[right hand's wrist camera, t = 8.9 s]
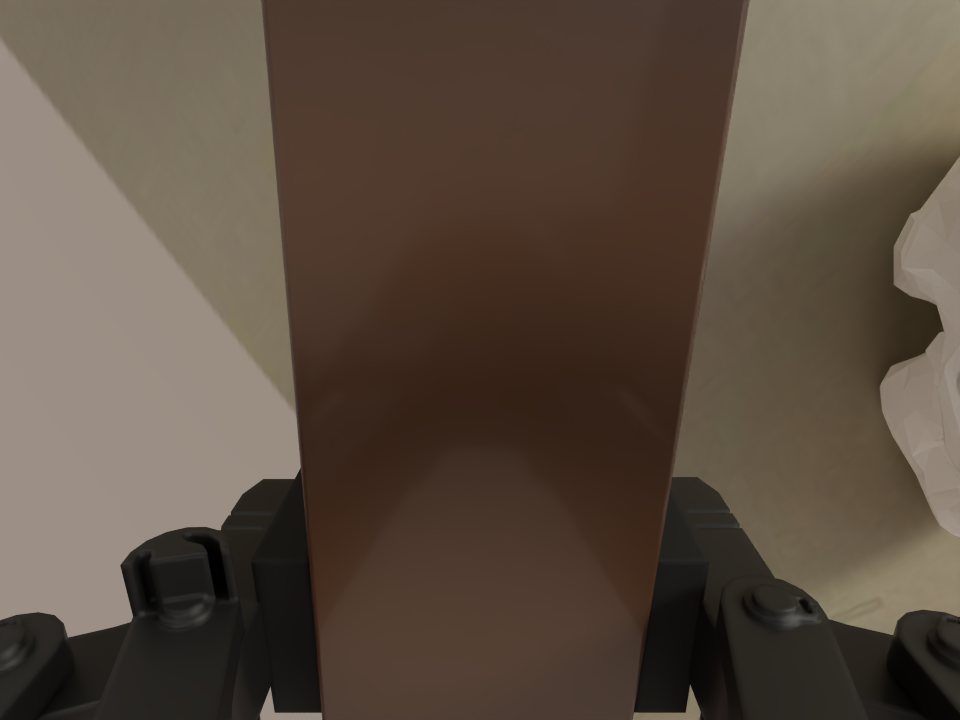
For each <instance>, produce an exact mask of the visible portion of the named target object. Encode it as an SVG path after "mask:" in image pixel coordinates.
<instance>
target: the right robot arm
mask: <svg viewBox="0 0 960 720" xmlns="http://www.w3.org/2000/svg"><path fill="white" fill-rule="evenodd" d="M121 570H122V574H123V578H124V582H125V586H126V589H127V594H128V597H129V601H130V606H131V609H132V614H133V619H132V621H131V622H130V623H127V624H123V625H120V626H117V627H113V628H109V629H104V630H100V631H95V632H91V633H87V634H82V635H78V636H74V637H69V638H68V636H67V633H66V630H65V626H64V624H63V622H61V621H60V620H59V619H58V618H57V617H56V616H55V615H50V614H44V613H39V612H37V613H29V614H21V615H15V616H12V617H9V618H6V619H3V620H0V720H260V712H261V710H262V707H263V704H264V702H265V699H266V696H267V694H268V691H269V689H270V686H271V691H272V698H273V704H274V710H275V713H322V711H321V699H320V687H319V675H318V663H317V651H316V640H315V628H314V616H313V604H312V592H311V581H310V569H309V557H308V545H307V533H306V521H305V510H304V498H303V486H302V474H301V469H300V470H299V472H298V474H297V476H296V478H295V479H263V480H262V481H260V482H259V483H258V484H256V485H255V486H253V487H252V488H251V489H249V490H248V491H247V492H245V493H244V494H243V495H242V496H241V498H240V499H239V501H238V502H237V504H236V505H235V507H234V508H233V510H232V511H231V515H229V516H228V517H227V519H226V520H225V522H224V523H223V525H222V527H221V530H215V529H211V528H207V527H187V528H183V529H178V530H174V531H170V532H166V533H164V534H161V535H159V536H157V537H154V538H152V539H150V540H148V541H146V542H144V543H143V544H142V545H140V546H139V547H137V548H136V549H135V550H133V551H132V552H130V554H129V555H128V556H127V558H126V559H125V560H124V561H123V563H122V564H121ZM690 685H691V687H692V690H693V692H694V695H695V698H696V700H697V703H698V706H699V708H700V711H701V714H700V720H960V617H957V616H954V615H951V614H948V613H945V612H937V611H929V610H919V611H914V612H908V613H906V614H905V615H904V616H903V617H901V618H900V619H899V620H898V622H897V625H896V628H895V631H894V635H889V634H885V633H881V632H876V631H872V630H868V629H863V628H859V627H854V626H850V625H846V624H843V623H839V622H836V621H833V620H829V619H828V618H827V615H826V614H825V613H824V611H823V610H822V608H821V607H820V605H819V604H818V602H817V601H816V600H814V599H813V598H812V597H811V596H809V595H808V594H807V593H806V592H804V591H803V590H802V589H800V588H798V587H796V586H794V585H792V584H790V583H788V582H786V581H784V580H780V579H777V578H775V577H774V576H773V574H772V573H771V571H770V570H769V568H768V567H767V565H766V564H765V562H764V561H763V559H762V558H761V556H760V555H759V553H758V552H757V550H756V549H755V547H754V546H753V544H752V543H751V541H750V540H749V538H748V537H747V535H746V534H745V532H744V531H743V529H742V528H740V527H739V523H738V522H737V520H736V519H735V517H734V516H733V514H732V513H730V509H729V508H728V506H727V505H726V503H725V502H724V500H723V499H722V497H721V496H720V494H719V493H718V492H717V491H716V490H714V489H713V488H711V487H710V486H709V485H707V484H706V483H704V482H703V481H702V480H700V479H699V478H698V477H672V481H671V487H670V493H669V499H668V505H667V511H666V517H665V524H664V530H663V536H662V542H661V548H660V554H659V561H658V567H657V573H656V579H655V585H654V591H653V597H652V604H651V610H650V616H649V622H648V628H647V634H646V641H645V647H644V653H643V659H642V665H641V671H640V677H639V684H638V690H637V696H636V702H635V708H634V712H638V713H686V706H687V700H688V694H689V688H690Z"/></svg>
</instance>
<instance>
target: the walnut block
mask: <svg viewBox="0 0 960 720" xmlns="http://www.w3.org/2000/svg"><path fill="white" fill-rule="evenodd" d="M261 1H262V13H263V25H264V37H265V49H266V60H267V72H268V84H269V96H270V108H271V120H272V131H273V143H274V155H275V167H276V179H277V191H278V202H279V214H280V226H281V238H282V250H283V261H284V273H285V285H286V297H287V309H288V321H289V332H290V344H291V356H292V368H293V380H294V391H295V403H296V415H297V427H298V439H299V450H300V462H301V474H302V486H303V498H304V510H305V521H306V533H307V545H308V557H309V569H310V581H311V592H312V604H313V616H314V628H315V640H316V651H317V663H318V675H319V687H320V699H321V711H322V720H633V714H634V708H635V702H636V696H637V690H638V684H639V677H640V671H641V665H642V659H643V653H644V647H645V641H646V634H647V628H648V622H649V616H650V610H651V604H652V597H653V591H654V585H655V579H656V573H657V567H658V561H659V554H660V548H661V542H662V536H663V530H664V524H665V517H666V511H667V505H668V499H669V493H670V487H671V481H672V474H673V468H674V462H675V456H676V450H677V444H678V437H679V431H680V425H681V419H682V413H683V407H684V400H685V394H686V388H687V382H688V376H689V370H690V364H691V357H692V351H693V345H694V339H695V333H696V327H697V320H698V314H699V308H700V302H701V296H702V290H703V284H704V277H705V271H706V265H707V259H708V253H709V247H710V240H711V234H712V228H713V222H714V216H715V210H716V204H717V197H718V191H719V185H720V179H721V173H722V167H723V160H724V154H725V148H726V142H727V136H728V130H729V124H730V117H731V111H732V105H733V99H734V93H735V87H736V80H737V74H738V68H739V62H740V56H741V50H742V44H743V37H744V31H745V25H746V19H747V13H748V7H749V0H261Z"/></svg>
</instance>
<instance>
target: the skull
mask: <svg viewBox="0 0 960 720" xmlns="http://www.w3.org/2000/svg"><path fill="white" fill-rule="evenodd" d="M894 285H895V286H896V287H898V288H899V289H901V290H902V291H904V292H905V293H907V294H908V295H910V296H912V297H916V298H919V299H923V300H927V301H929V302H931V303H933V304H935V305H937V307H938V311H939V314H940V318H941V321H942V325H943V329H944V331H943V332H939V333H938V335H937V336H936V337H935V339H934V340H933V341H932V343H931V344H930V345H929V346H928V348H927V349H926V350H925V351H926V352H925V353H923V354H921V355H919V356H917V357H914V358H911V359H908V360H906V361H903V362H900V363H897V364H895V365H893V366H891V367H890V369H889V371H888V372H887V374H886V376H885V378H884V379H883V381H882V383H881V385H880V395H881V405H882V412H883V415H884V417H885V420H886V422H887V424H888V427H889V429H890V432H891V434H892V436H893V438H894V439H895V441H896V443H897V444H898V446H899V448H900V449H901V451H902V452H903V454H904V456H905V457H906V459H907V461H908V462H909V464H910V466H911V467H912V469H913V471H914V472H915V474H916V476H917V478H918V481H919V483H920V485H921V488H922V490H923V492H924V494H925V497H926V499H927V501H928V504H929V506H930V508H931V511H932V513H933V515H934V516H935V518H936V520H937V522H938V523H939V525H940V526H941V527H942V528H944V529H945V530H947V531H948V532H949V533H951V534H952V535H954V536H957V537H959V538H960V157H959V158H958V159H957V161H956V162H955V163H954V165H953V166H952V168H951V169H950V170H949V172H948V173H947V174H946V176H945V177H944V178H943V180H942V181H941V182H940V184H939V185H938V186H937V188H936V189H935V190H934V192H933V193H932V194H931V196H930V197H929V198H928V200H927V201H926V202H925V204H924V205H923V206H922V208H921V209H920V210H919V211H916V212H914V213H911V214H910V216H909V218H908V220H907V222H906V224H905V226H904V228H903V230H902V232H901V233H900V235H899V237H898V239H897V241H896V243H895V245H894Z"/></svg>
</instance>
